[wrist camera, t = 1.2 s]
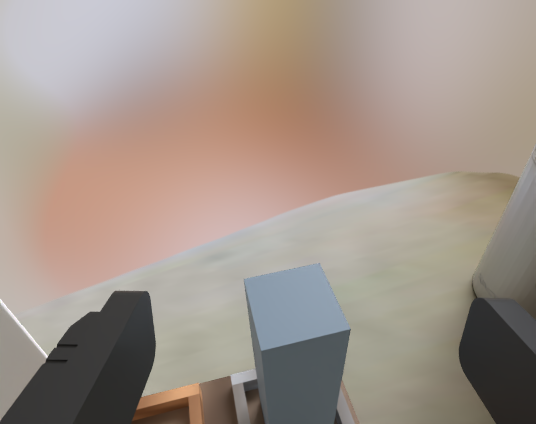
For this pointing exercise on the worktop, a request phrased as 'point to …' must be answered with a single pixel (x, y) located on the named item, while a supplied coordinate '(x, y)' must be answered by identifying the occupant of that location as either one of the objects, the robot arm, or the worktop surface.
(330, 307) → the post
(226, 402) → the socket board
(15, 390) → the milk
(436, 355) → the worktop surface
